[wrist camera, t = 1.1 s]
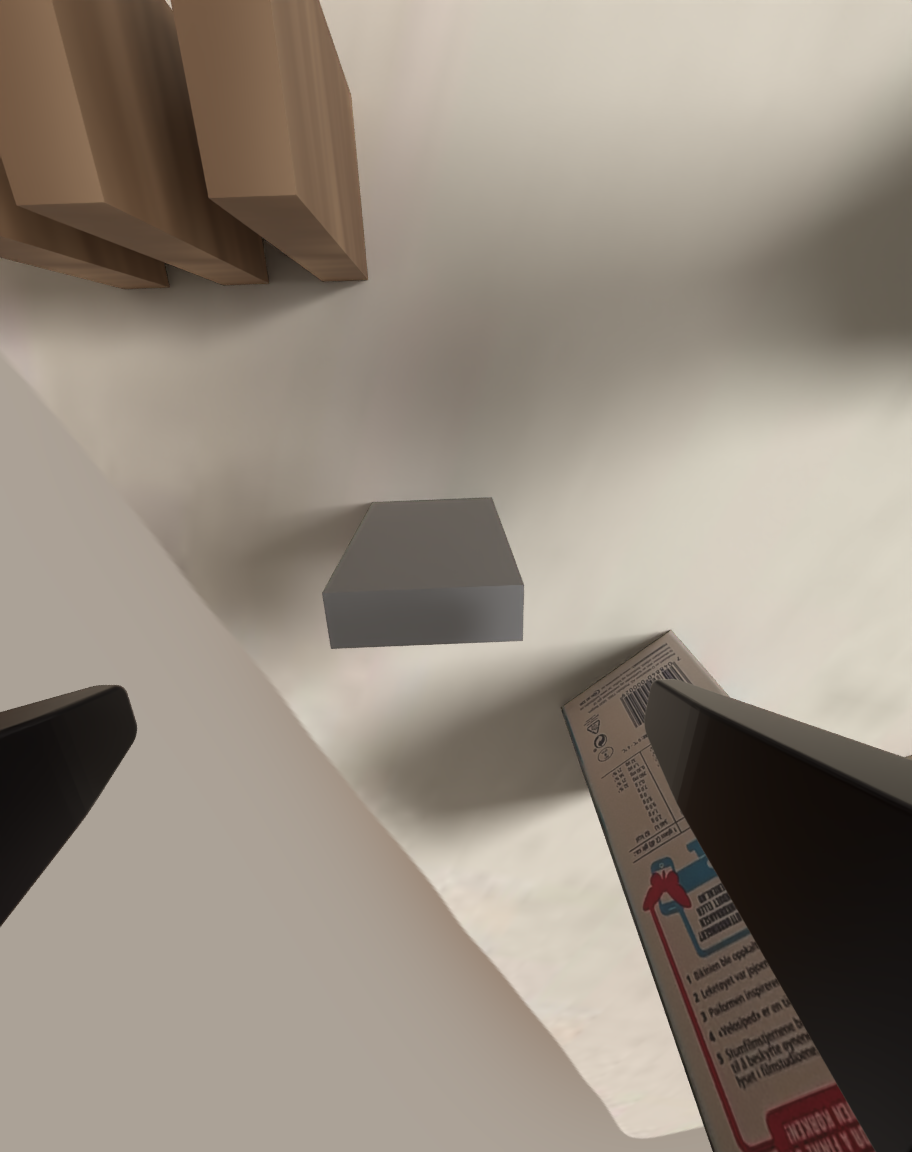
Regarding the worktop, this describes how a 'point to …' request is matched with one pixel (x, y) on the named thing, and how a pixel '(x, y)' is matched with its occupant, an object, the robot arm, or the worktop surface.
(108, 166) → the walnut domino
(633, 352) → the worktop surface
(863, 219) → the worktop surface
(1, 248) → the walnut domino
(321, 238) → the walnut domino
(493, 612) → the charcoal domino
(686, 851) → the juice carton
